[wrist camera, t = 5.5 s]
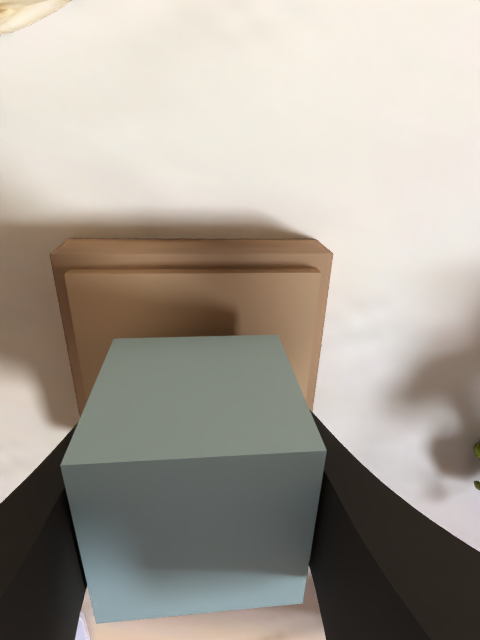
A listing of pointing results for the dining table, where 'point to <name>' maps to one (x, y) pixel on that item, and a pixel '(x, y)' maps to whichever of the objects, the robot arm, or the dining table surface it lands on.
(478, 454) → the passion flower
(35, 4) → the storage basket
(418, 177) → the dining table surface
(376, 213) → the dining table surface
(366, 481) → the robot arm
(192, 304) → the square coaster
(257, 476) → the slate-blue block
